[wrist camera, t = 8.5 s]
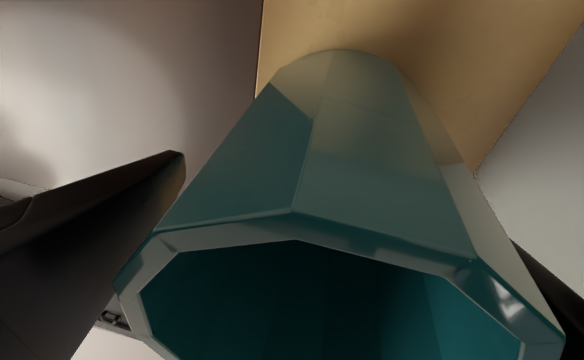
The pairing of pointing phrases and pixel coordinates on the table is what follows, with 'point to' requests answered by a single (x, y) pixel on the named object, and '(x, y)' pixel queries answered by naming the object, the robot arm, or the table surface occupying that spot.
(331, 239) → the teal cup
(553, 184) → the table surface
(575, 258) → the table surface
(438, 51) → the serving board
